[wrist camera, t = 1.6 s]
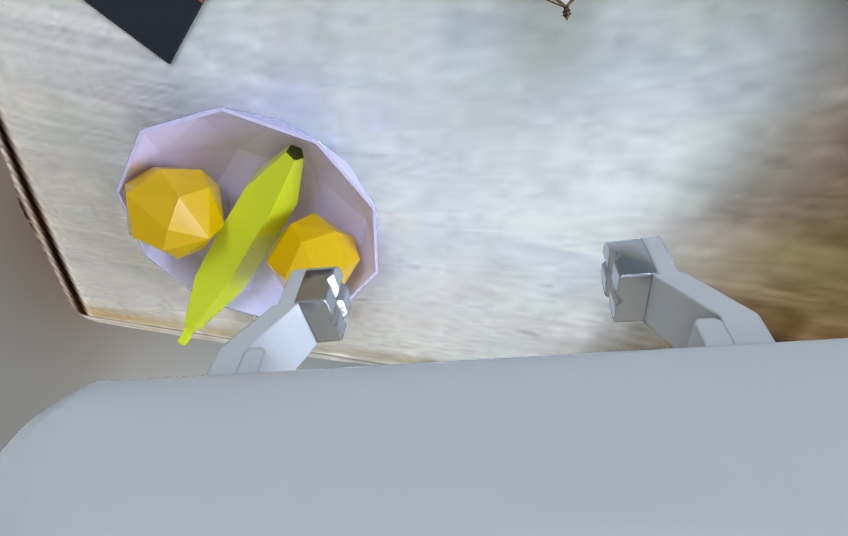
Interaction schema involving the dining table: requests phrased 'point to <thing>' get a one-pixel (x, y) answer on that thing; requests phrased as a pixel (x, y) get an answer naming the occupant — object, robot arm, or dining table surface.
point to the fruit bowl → (244, 210)
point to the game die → (564, 2)
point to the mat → (152, 21)
